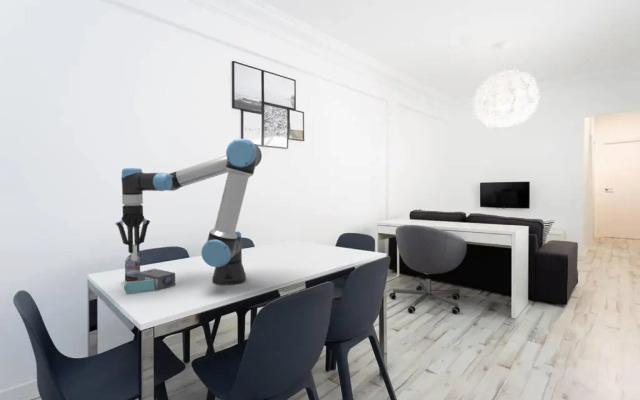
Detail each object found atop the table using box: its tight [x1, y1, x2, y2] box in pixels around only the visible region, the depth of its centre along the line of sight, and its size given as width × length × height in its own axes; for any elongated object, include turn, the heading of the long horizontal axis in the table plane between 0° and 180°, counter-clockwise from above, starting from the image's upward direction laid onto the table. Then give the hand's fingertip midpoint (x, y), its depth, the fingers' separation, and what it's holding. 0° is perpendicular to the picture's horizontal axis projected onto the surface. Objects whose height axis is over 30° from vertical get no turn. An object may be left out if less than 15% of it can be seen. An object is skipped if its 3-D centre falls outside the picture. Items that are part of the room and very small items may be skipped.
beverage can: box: [124, 255, 141, 283], centre depth 154 cm, size 6×7×12 cm
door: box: [123, 279, 158, 294], centre depth 138 cm, size 12×2×4 cm, turn 113°
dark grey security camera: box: [137, 268, 176, 291], centre depth 149 cm, size 17×8×6 cm, turn 58°
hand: (134, 260), depth 141 cm, fingers closed
